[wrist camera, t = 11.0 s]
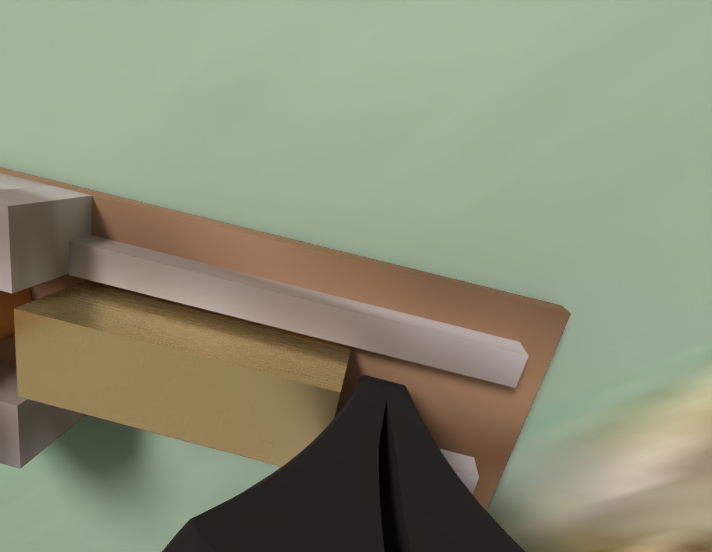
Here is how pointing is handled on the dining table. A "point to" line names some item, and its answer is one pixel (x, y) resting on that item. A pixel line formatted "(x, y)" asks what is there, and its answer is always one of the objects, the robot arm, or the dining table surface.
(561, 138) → the dining table surface
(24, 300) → the cylinder
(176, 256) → the mount
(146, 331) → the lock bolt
